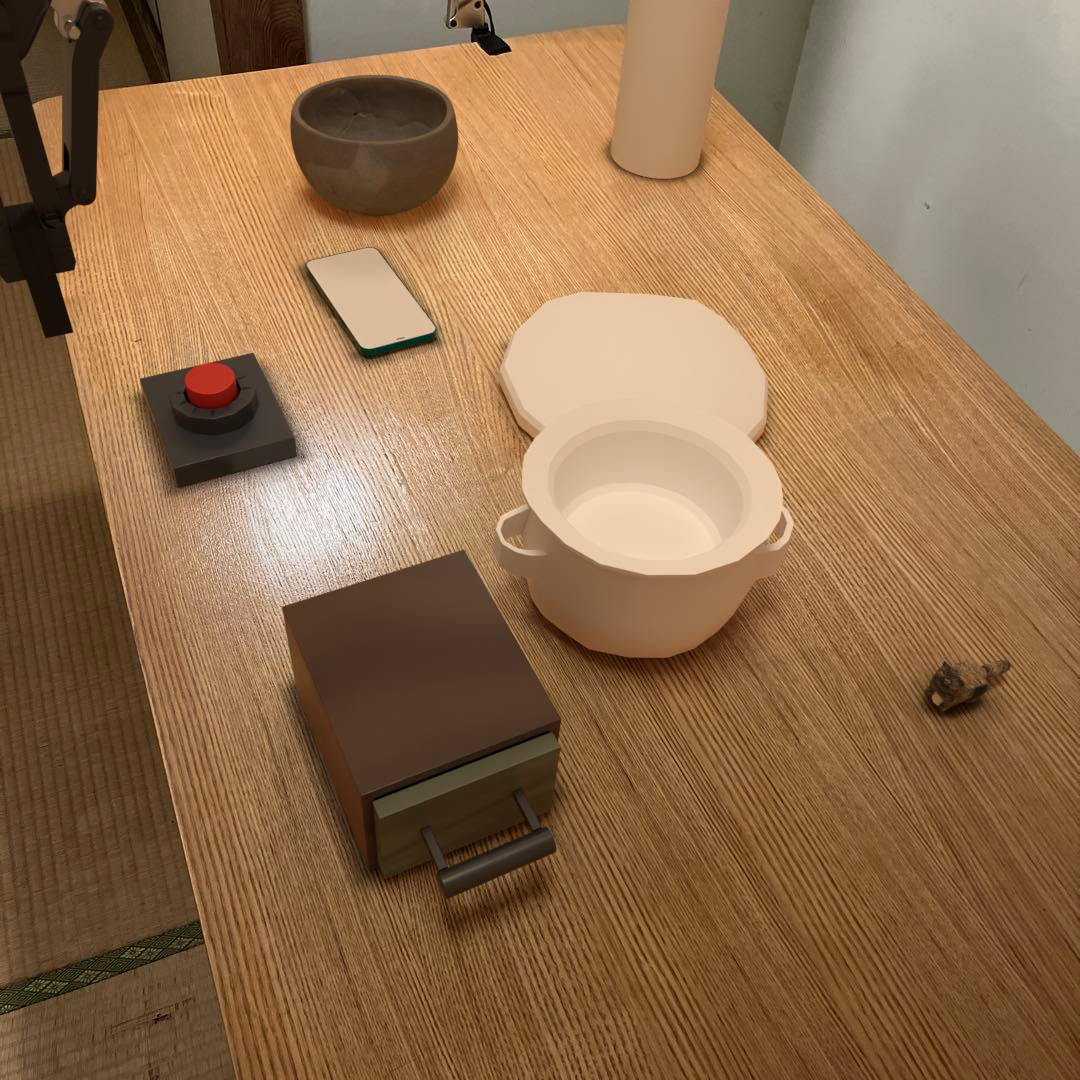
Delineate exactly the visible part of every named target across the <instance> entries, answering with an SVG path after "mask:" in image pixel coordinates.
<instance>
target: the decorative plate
mask: <svg viewBox="0 0 1080 1080" xmlns="http://www.w3.org/2000/svg"><path fill="white" fill-rule="evenodd" d="M498 370H499V371H498V372H499V373H498V374H499V375H498V384H499V385H500V387H501V390H502V392H503V395H504V396H505V398H506V400H507V403H508V405H509V407H510V409H511V411H512V414H513V417H514V418H515V420H516V423H517V426H519V427H520V428H521V429H522V430H524V431H525V432H526V433H527V434H528V435H529V436H530V437H532V438H533V440H534V439H535V437H536V436H537V435H538V434H540V433H541V432H542V431H543V430H544V429H545V428H546V427H547V426H548V425H549V424H550V423H551V422H552V421H553V420H554V419H556V418H558V417H560V416H562V415H564V414H566V413H568V412H570V411H572V410H574V409H576V408H578V407H580V406H583V405H587V404H591V403H595V402H599V401H604V400H608V399H623V398H650V399H657V400H664V401H671V402H675V403H679V404H682V405H686V406H689V407H693V408H696V409H699V410H703V411H706V412H708V413H710V414H712V415H714V416H717V417H719V418H721V419H723V420H725V421H727V422H728V423H730V424H731V425H733V426H734V427H735V428H737V429H738V430H740V431H741V432H743V433H744V434H746V435H747V436H748V437H749V438H750V439H751V440H752V441H753V442H754V443H755V444H756V443H757V441H758V440H759V439H760V437H761V436H762V435H763V434H764V431H765V428H766V424H767V419H768V418H767V415H768V397H769V396H768V395H769V379H768V377H767V375H766V373H765V372H764V369H763V368H762V366H761V365H760V363H759V361H758V359H757V357H756V355H755V353H754V351H753V350H752V348H751V346H750V344H749V342H748V341H747V340H746V339H745V338H744V337H743V336H742V335H741V334H740V333H739V332H738V331H737V329H735V328H734V327H733V326H732V325H731V324H730V323H729V322H728V321H727V320H726V319H725V318H724V317H723V316H720V315H719V314H718V313H716V312H715V311H713V310H712V309H710V308H709V307H707V306H705V305H704V304H702V303H701V302H700V301H698V300H697V299H693V298H686V297H685V298H684V297H677V296H669V295H668V296H667V295H662V294H661V295H660V294H654V293H653V294H652V293H632V292H631V293H630V292H628V293H627V292H599V291H598V292H596V291H595V292H594V291H593V292H591V291H580V292H576V293H571V294H568V295H565V296H560V297H557V298H554V299H550V300H547V301H545V302H544V303H543V304H542V305H541V306H540V307H539V308H538V309H537V310H536V311H534V313H533V314H532V315H530V316H529V318H528V319H526V320H525V321H524V322H523V323H522V324H521V325H520V326H519V327H518V328H517V329H516V330H515V331H514V332H513V333H512V334H511V336H510V339H509V341H508V344H507V347H506V350H505V353H504V356H503V359H502V361H501V364H500V367H499V369H498Z"/></svg>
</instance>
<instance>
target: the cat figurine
mask: <svg viewBox="0 0 1080 1080" xmlns="http://www.w3.org/2000/svg"><path fill="white" fill-rule="evenodd" d="M1010 670H1011V663H1010V662H1009V661H1007V660H1005V659H1000V660H995V661H991V662H988V663H984V664H982V665H975V664H973V663H971V662H969V661H968V660H964V661H961V662H958V663H953V664H951V665H950V664H949V663H948V662H947V661H946V660H943V663H942V665H941V666H940V667H939V668H938V669H937V671H936V672H935V673H933V675H932V677H931V679H930V680H929V683H928V684H929V686H928V687H926V688H925V689H924V692H925V693H926V694H927V695H928V696H929V697H930V696H931V700H932V703H933V704H935V705H936V706H937V707H938V709H940V710H941V712H945V711H948V710H949V709H950V708H952V707H954V706H957V705H959V704H961V703H967V704H971V703H974V702H976V701H977V700H978V699H979V698H980V697H981V696H983V695H984V694H985V693H987V692H988V691H989V687H988V683H987V679H992V678H994V677H998V676H1001V675H1003V674H1005V673H1008V671H1010Z"/></svg>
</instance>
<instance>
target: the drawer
mask: <svg viewBox="0 0 1080 1080" xmlns="http://www.w3.org/2000/svg"><path fill="white" fill-rule="evenodd" d="M529 739H530V738H528V739H525V740H523V741H520V742H517V743H515V744H512V745H510V746H507V747H504V748H502V749H499V750H497V751H494V752H492V753H489V754H486V755H484V756H481V757H479V758H476V759H473V760H471V761H468V762H466V763H463V764H461V765H458V766H455V767H453V768H450V769H448V770H445V771H443V772H440V773H437V774H435V775H432V776H430V777H427V778H424V779H422V780H419V781H417V782H414V783H412V784H409V785H406V786H404V787H401V788H399V789H396V790H394V791H391V792H388V793H386V794H383V795H381V796H378V797H375V798H374V799H375V801H373V802H372V804H373V815H374V825H375V836H376V847H377V857H378V864H379V869H380V872H381V874H382V876H383V878H384V880H387V879H389V878H391V877H394V876H396V875H399V874H401V873H404V872H405V871H406V872H407V871H408V870H410V869H413V868H415V867H417V866H420V865H422V864H425V863H427V862H429V861H432V863H433V865H434V867H435V869H436V872H435V878H436V883H437V885H438V888H439V890H440V893H441V895H442V897H443V899H445V900H449V899H452V898H453V897H457V896H459V895H461V894H463V893H465V892H468V891H470V890H473V889H475V888H477V887H479V886H482V885H484V884H486V883H488V882H491V881H493V880H496V879H497V878H500V877H503V876H505V875H507V874H509V873H511V872H514V871H516V870H518V869H521V868H523V867H526V866H528V865H530V864H533V863H535V862H538V861H539V860H542V859H544V858H546V857H548V856H551V855H554V854H556V853H557V843H556V840H555V837H554V835H553V832H551V830H550V828H549V827H548V826H543V825H541V822H540V821H539V819H538V816H540V815H543V814H545V813H547V812H550V811H552V805H553V798H554V794H555V793H554V792H555V786H556V781H557V773H558V767H559V762H560V756H561V755H560V754H561V749H562V746H561V745H560V743H559V740H558V741H557V739H556V738H555V736H554V734H553V732H550V733H547V734H545V735H542V736H540V737H537V738H535V739H532V740H529ZM523 822H525V823H526V825H527V827H528V829H529V833H526V834H524V835H522V836H519V837H517V838H515V839H512V840H509V841H508V842H505V843H503V844H501V845H497V846H495V847H493V848H491V849H488V850H486V851H484V852H482V853H478V854H477V855H474V856H472V857H470V858H467V859H465V860H462V861H460V862H458V863H455V864H452V865H450V866H449V864H448V862H447V860H446V858H445V856H444V855H446V854H449V853H451V852H454V851H456V850H459V849H461V848H463V847H465V846H468V845H470V844H473V843H475V842H478V841H481V840H483V839H485V838H487V837H489V836H492V835H494V834H497V833H500V832H501V831H504V830H507V829H509V828H512V827H513V826H516V825H519V824H521V823H523ZM542 826H543V827H542Z"/></svg>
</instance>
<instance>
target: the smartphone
mask: <svg viewBox="0 0 1080 1080" xmlns="http://www.w3.org/2000/svg"><path fill="white" fill-rule="evenodd" d="M305 272H306V275H308V277H309V279H310V280H311V282H312V283H313V285H314V286H315V288H316V289H317V290H318V292H319V294H320V295H321V297H322V298H323V300H324V301H325V303H326V304H327V306H328V307H329V309H330V310H331V312H332V313H333V314H334V317H335V318H336V319H337V320H338V322H339V324H340V325H341V327H342V328H343V329H344V331H345V332H346V334H347V335H348V337H349V339H350V340H351V342H352V343H353V345H354V347H355V348H356V349H357V351H358V352H359V353H360V354H361V355H363V356H368V357H370V356H371V357H372V356H377V355H381V354H385V353H389V352H392V351H396V350H400V349H403V348H406V347H411V346H414V345H418V344H422V343H425V342H429V341H432V340H434V339H436V338H437V335H438V330H437V329H438V328H437V327H438V326H436V324H435V323H434V322H433V320H432V319H431V317H430V316H429V315H428V314H427V312H426V311H425V310H424V308H423V307H422V305H421V304H420V303H419V301H418V300H417V299H416V297H415V296H414V295H413V294H412V292H411V291H410V290H409V287H407V286H406V284H405V283H404V282H403V281H402V279H401V277H399V275H398V274H397V272H395V270H394V269H393V267H392V266H391V264H390V263H389V262H388V260H387V259H386V258H385V257H384V255H383V254H382V252H381V251H380V250H379V249H377V248H376V247H373V246H366V247H362V248H357V249H353V250H347V251H344V252H340V253H335V254H331V255H327V256H321V257H316V258H313V259H310V260H307V262H306V263H305Z"/></svg>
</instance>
